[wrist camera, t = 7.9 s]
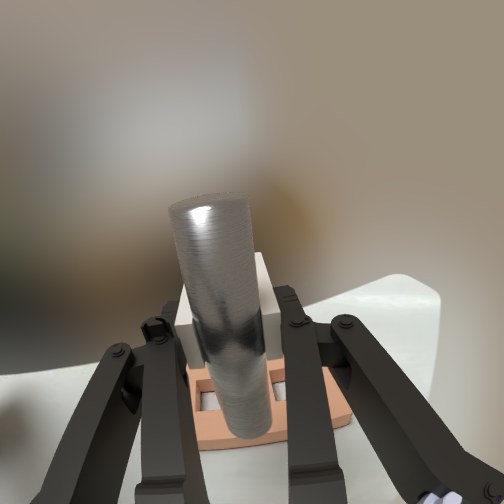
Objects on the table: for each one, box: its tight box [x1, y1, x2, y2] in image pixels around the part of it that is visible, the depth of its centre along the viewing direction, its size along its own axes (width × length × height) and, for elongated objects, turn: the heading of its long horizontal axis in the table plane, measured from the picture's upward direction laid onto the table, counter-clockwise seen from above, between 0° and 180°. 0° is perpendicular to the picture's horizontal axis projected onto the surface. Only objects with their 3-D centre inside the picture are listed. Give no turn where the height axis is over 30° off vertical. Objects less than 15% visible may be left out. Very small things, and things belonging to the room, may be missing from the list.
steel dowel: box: [168, 192, 273, 439], centre depth 13 cm, size 3×3×14 cm
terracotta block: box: [186, 355, 352, 450], centre depth 29 cm, size 19×13×2 cm
